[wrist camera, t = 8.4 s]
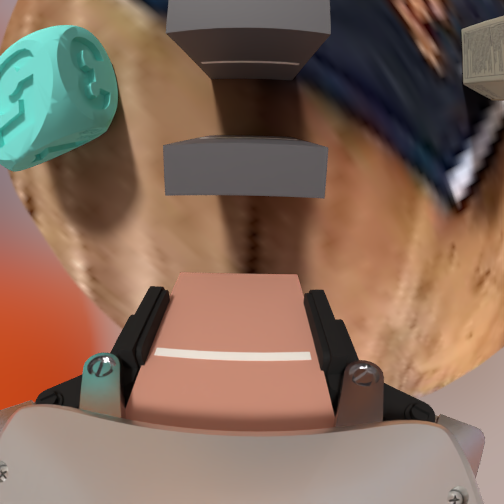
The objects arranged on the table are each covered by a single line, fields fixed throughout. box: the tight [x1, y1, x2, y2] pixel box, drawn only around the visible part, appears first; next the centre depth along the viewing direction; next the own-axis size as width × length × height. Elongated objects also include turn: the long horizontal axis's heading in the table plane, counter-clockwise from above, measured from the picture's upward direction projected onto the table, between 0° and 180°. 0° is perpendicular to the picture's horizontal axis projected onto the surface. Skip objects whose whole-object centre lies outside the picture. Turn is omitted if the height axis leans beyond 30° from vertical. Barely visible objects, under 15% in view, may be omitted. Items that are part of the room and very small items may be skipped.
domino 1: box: [166, 0, 331, 81], centre depth 12 cm, size 2×6×11 cm, turn 89°
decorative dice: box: [0, 25, 118, 171], centre depth 14 cm, size 8×8×8 cm
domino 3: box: [125, 272, 335, 432], centre depth 9 cm, size 2×6×11 cm, turn 89°
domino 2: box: [163, 135, 328, 198], centre depth 15 cm, size 2×6×11 cm, turn 89°
